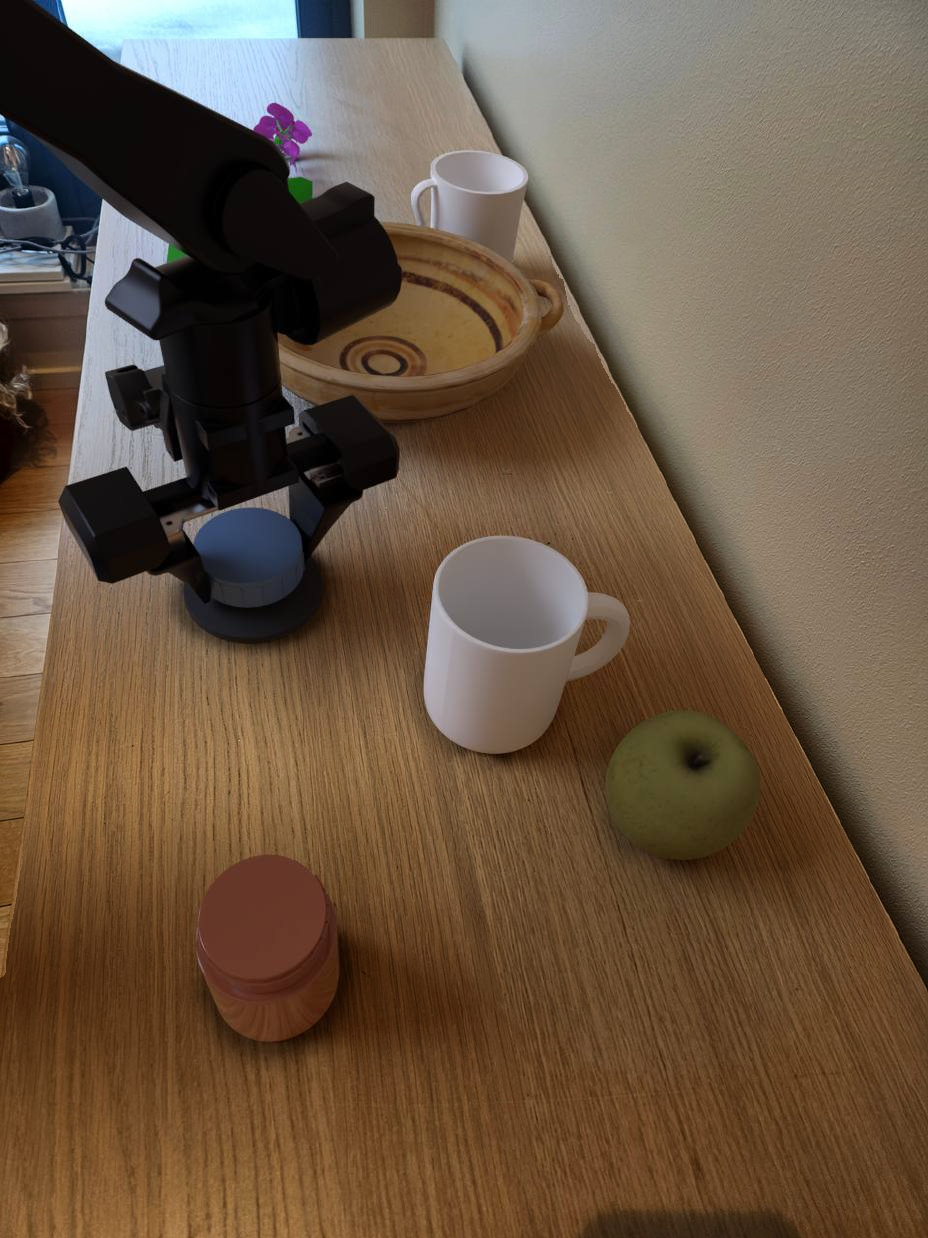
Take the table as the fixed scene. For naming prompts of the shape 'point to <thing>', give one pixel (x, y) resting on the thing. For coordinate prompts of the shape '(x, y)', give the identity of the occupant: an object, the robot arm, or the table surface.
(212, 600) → the coaster
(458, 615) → the mug
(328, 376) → the ceramic bowl
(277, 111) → the potted plant
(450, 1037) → the table surface
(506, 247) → the mug
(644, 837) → the apple
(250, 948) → the jar
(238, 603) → the jar lid
